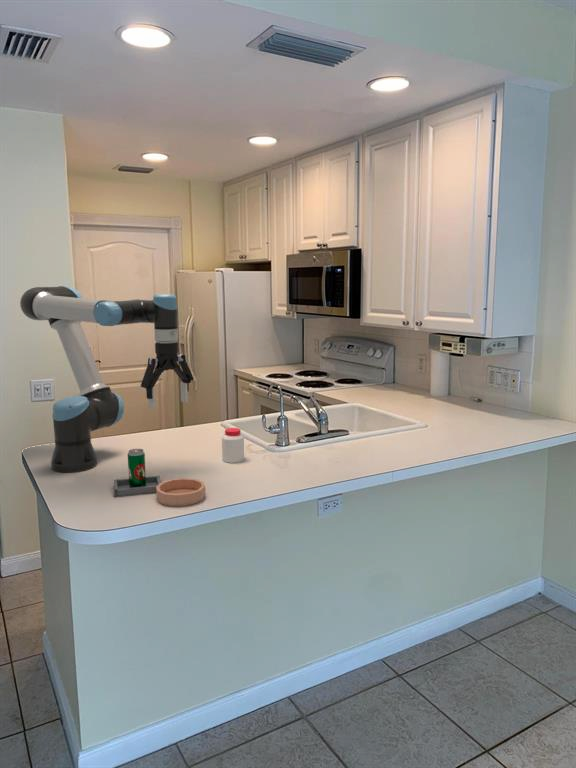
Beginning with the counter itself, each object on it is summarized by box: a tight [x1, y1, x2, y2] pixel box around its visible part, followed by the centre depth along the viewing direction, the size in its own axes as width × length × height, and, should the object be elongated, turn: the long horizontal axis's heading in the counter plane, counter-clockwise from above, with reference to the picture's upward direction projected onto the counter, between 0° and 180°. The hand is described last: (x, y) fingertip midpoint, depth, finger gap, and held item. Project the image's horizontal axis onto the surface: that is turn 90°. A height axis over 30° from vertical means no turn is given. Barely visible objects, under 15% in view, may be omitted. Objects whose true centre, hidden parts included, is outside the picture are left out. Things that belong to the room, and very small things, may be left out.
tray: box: [113, 475, 162, 498], centre depth 183 cm, size 14×10×2 cm
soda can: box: [127, 448, 147, 488], centre depth 182 cm, size 5×5×12 cm
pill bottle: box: [221, 427, 245, 464], centre depth 212 cm, size 8×8×11 cm
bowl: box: [155, 477, 207, 507], centre depth 176 cm, size 14×14×3 cm
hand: (168, 404), depth 200 cm, fingers open, 13 cm apart
